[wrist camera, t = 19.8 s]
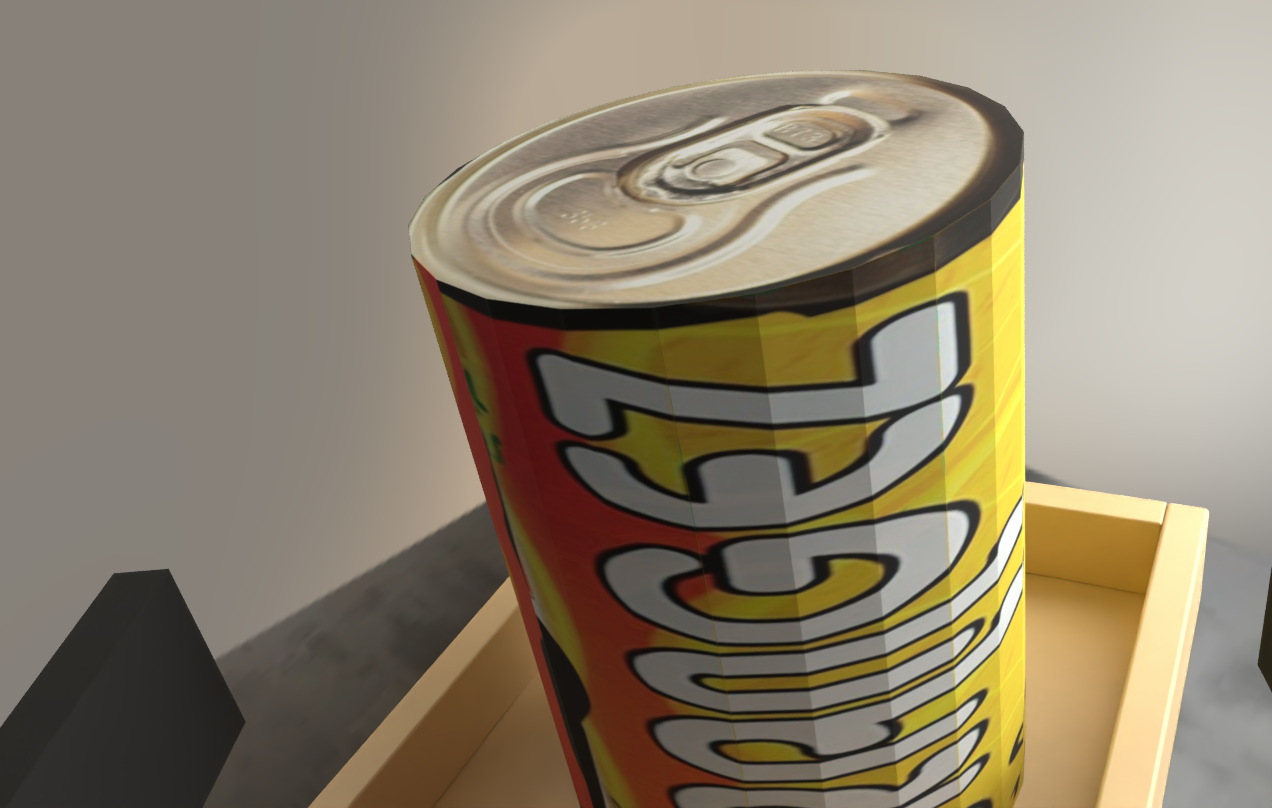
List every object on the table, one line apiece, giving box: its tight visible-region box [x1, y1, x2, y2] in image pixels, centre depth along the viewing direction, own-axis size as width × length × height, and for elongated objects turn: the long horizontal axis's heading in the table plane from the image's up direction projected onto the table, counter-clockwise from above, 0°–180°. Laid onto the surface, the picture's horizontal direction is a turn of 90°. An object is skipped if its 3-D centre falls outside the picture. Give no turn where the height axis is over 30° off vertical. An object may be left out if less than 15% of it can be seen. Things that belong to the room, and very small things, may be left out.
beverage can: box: [408, 70, 1026, 808], centre depth 20 cm, size 9×9×12 cm
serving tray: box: [308, 482, 1209, 808], centre depth 22 cm, size 14×14×2 cm
